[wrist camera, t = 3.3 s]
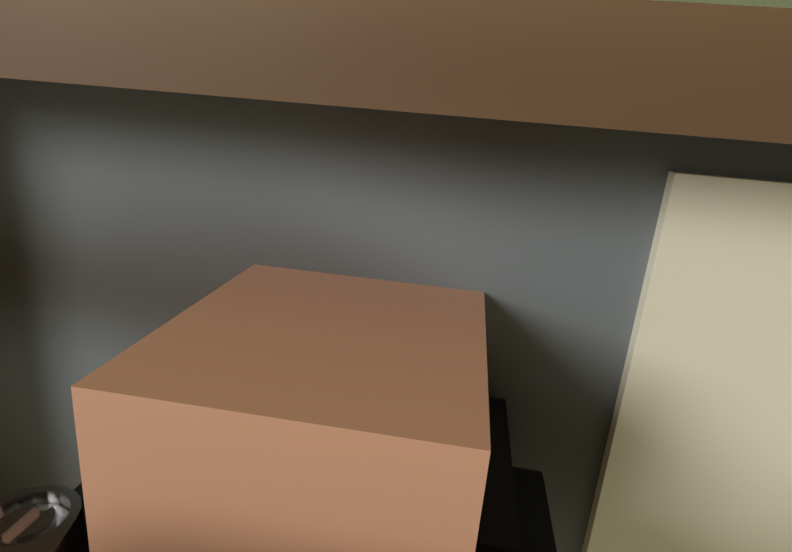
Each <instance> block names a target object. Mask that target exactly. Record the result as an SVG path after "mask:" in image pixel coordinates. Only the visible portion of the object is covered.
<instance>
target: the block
mask: <svg viewBox="0 0 792 552" xmlns="http://www.w3.org/2000/svg"><path fill="white" fill-rule="evenodd" d="M71 393H72V401H73V410H74V419H75V428H76V436H77V445H78V454H79V463H80V472H81V480H82V489H83V498H84V507H85V516H86V524H87V533H88V542H89V551H90V552H475V550H476V543H477V537H478V530H479V524H480V518H481V511H482V505H483V498H484V492H485V485H486V479H487V472H488V466H489V459H490V453H491V444H490V420H489V396H488V372H487V348H486V323H485V299H484V292H479V291H471V290H463V289H454V288H446V287H438V286H430V285H421V284H413V283H405V282H396V281H388V280H380V279H372V278H363V277H355V276H347V275H339V274H330V273H322V272H314V271H305V270H297V269H289V268H281V267H272V266H264V265H256V264H254V265H252V266H251V267H249V268H248V269H246V270H245V271H243V272H242V273H240V274H239V275H237V276H236V277H234V278H233V279H231V280H230V281H228V282H227V283H225V284H224V285H222V286H221V287H219V288H218V289H216V290H215V291H213V292H212V293H210V294H209V295H207V296H206V297H204V298H203V299H201V300H200V301H198V302H197V303H195V304H194V305H192V306H191V307H189V308H188V309H186V310H185V311H183V312H182V313H180V314H179V315H177V316H176V317H174V318H173V319H171V320H170V321H168V322H167V323H165V324H164V325H162V326H161V327H159V328H158V329H156V330H155V331H153V332H152V333H150V334H149V335H147V336H146V337H144V338H143V339H141V340H140V341H138V342H137V343H135V344H134V345H132V346H131V347H129V348H128V349H126V350H125V351H123V352H122V353H120V354H119V355H117V356H116V357H114V358H113V359H111V360H110V361H108V362H107V363H105V364H104V365H102V366H101V367H99V368H98V369H96V370H95V371H93V372H92V373H90V374H89V375H87V376H86V377H84V378H83V379H81V380H80V381H78V382H77V383H75V384H74V385H72V386H71Z"/></svg>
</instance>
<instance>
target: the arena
mask: <svg viewBox="0 0 792 552" xmlns="http://www.w3.org/2000/svg"><path fill="white" fill-rule="evenodd" d="M669 171H672V172H683V173H694V174H705V175H716V176H727V177H738V178H749V179H760V180H771V181H782V182H792V9H791V8H773V7H756V6H738V5H721V4H703V3H685V2H668V1H650V0H0V498H2V497H4V496H7V495H9V494H12V493H14V492H16V491H19V490H22V489H26V488H30V487H34V486H42V485H59V486H66V487H68V488H70V489H73V490H74V489H75V488H76V487H77V486H78V485H79V484H80V483H81V482H82V480H81V472H80V463H79V454H78V445H77V436H76V428H75V419H74V410H73V401H72V393H71V386H72V385H74V384H75V383H77V382H78V381H80V380H81V379H83V378H84V377H86V376H87V375H89V374H90V373H92V372H93V371H95V370H96V369H98V368H99V367H101V366H102V365H104V364H105V363H107V362H108V361H110V360H111V359H113V358H114V357H116V356H117V355H119V354H120V353H122V352H123V351H125V350H126V349H128V348H129V347H131V346H132V345H134V344H135V343H137V342H138V341H140V340H141V339H143V338H144V337H146V336H147V335H149V334H150V333H152V332H153V331H155V330H156V329H158V328H159V327H161V326H162V325H164V324H165V323H167V322H168V321H170V320H171V319H173V318H174V317H176V316H177V315H179V314H180V313H182V312H183V311H185V310H186V309H188V308H189V307H191V306H192V305H194V304H195V303H197V302H198V301H200V300H201V299H203V298H204V297H206V296H207V295H209V294H210V293H212V292H213V291H215V290H216V289H218V288H219V287H221V286H222V285H224V284H225V283H227V282H228V281H230V280H231V279H233V278H234V277H236V276H237V275H239V274H240V273H242V272H243V271H245V270H246V269H248V268H249V267H251V266H252V265H254V264H256V265H264V266H272V267H281V268H289V269H297V270H305V271H314V272H322V273H330V274H339V275H347V276H355V277H363V278H372V279H380V280H388V281H396V282H405V283H413V284H421V285H430V286H438V287H446V288H454V289H463V290H471V291H479V292H484V299H485V323H486V348H487V372H488V396H489V397H495V398H502V399H505V400H506V408H507V418H508V428H509V438H510V448H511V458H512V467H519V468H525V469H531V470H538V471H541V472H542V475H543V478H544V484H545V489H546V495H547V500H548V506H549V511H550V517H551V522H552V527H553V533H554V538H555V544H556V549H557V552H582V548H583V544H584V539H585V535H586V531H587V526H588V522H589V517H590V513H591V509H592V504H593V500H594V496H595V491H596V487H597V482H598V478H599V474H600V469H601V465H602V461H603V456H604V452H605V448H606V443H607V439H608V434H609V430H610V426H611V421H612V417H613V413H614V408H615V404H616V400H617V395H618V391H619V386H620V382H621V378H622V373H623V369H624V365H625V360H626V356H627V351H628V347H629V343H630V338H631V334H632V330H633V325H634V321H635V317H636V312H637V308H638V303H639V299H640V295H641V290H642V286H643V282H644V277H645V273H646V269H647V264H648V260H649V255H650V251H651V247H652V242H653V238H654V234H655V229H656V225H657V220H658V216H659V212H660V207H661V203H662V199H663V194H664V190H665V186H666V181H667V177H668V172H669Z"/></svg>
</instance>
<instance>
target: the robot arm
mask: <svg viewBox="0 0 792 552" xmlns="http://www.w3.org/2000/svg"><path fill="white" fill-rule="evenodd" d="M489 420H490V444H491V453H490V459H489V466H488V472H487V479H486V485H485V492H484V498H483V505H482V511H481V518H480V524H479V530H478V537H477V543H476V550H475V552H557V549H556V544H555V538H554V533H553V527H552V522H551V517H550V511H549V506H548V500H547V495H546V489H545V484H544V478H543V475H542V472H541V471H538V470H531V469H525V468H519V467H512V458H511V448H510V438H509V428H508V418H507V408H506V400H505V399H502V398H495V397H489ZM0 552H90V551H89V542H88V533H87V524H86V516H85V507H84V498H83V489H82V482H81V483H80V484H79V485H78V486H77V487H76V488H75V489H74V490H73V489H70V488H68V487H66V486H59V485H42V486H34V487H30V488H26V489H22V490H19V491H16V492H14V493H12V494H9V495H7V496H4V497H2V498H0Z"/></svg>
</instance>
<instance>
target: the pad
mask: <svg viewBox="0 0 792 552" xmlns="http://www.w3.org/2000/svg"><path fill="white" fill-rule="evenodd" d="M582 552H792V182H782V181H771V180H760V179H749V178H738V177H727V176H716V175H705V174H694V173H683V172H672V171H669V172H668V177H667V181H666V186H665V190H664V194H663V199H662V203H661V207H660V212H659V216H658V220H657V225H656V229H655V234H654V238H653V242H652V247H651V251H650V255H649V260H648V264H647V269H646V273H645V277H644V282H643V286H642V290H641V295H640V299H639V303H638V308H637V312H636V317H635V321H634V325H633V330H632V334H631V338H630V343H629V347H628V351H627V356H626V360H625V365H624V369H623V373H622V378H621V382H620V386H619V391H618V395H617V400H616V404H615V408H614V413H613V417H612V421H611V426H610V430H609V434H608V439H607V443H606V448H605V452H604V456H603V461H602V465H601V469H600V474H599V478H598V482H597V487H596V491H595V496H594V500H593V504H592V509H591V513H590V517H589V522H588V526H587V531H586V535H585V539H584V544H583V548H582Z"/></svg>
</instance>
